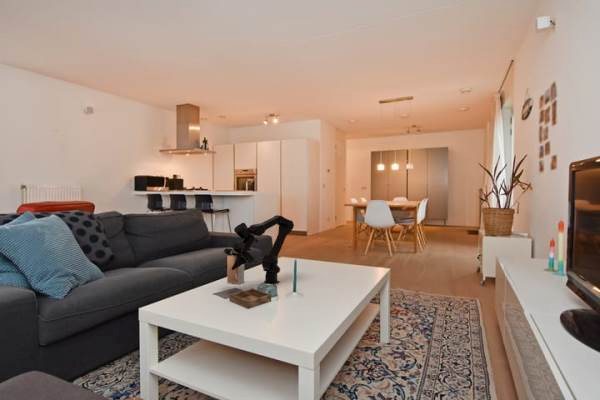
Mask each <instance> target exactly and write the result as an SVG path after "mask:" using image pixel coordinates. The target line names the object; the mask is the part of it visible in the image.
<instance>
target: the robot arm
mask: <svg viewBox="0 0 600 400" xmlns="http://www.w3.org/2000/svg"><path fill="white" fill-rule="evenodd" d="M276 225H277V226H278V234H277V236H276V238H275V240H274V242H273V244H272V248H271V250H270V252H269V253H268V254H265V255H264V257H263V259H262V260H261V267H262V269H263V272H265V280H264V281H263V282H264V283H266V284H268V283H273V284H278V283H280V280H278V274H279V273H280V272H281V267H280V266H279V265H278V263H279V260H278V259H279V258H278V257H279V255H280V252H281V250H282V247H283V245H284V242H285V240H286V239H287V236H288V235H289V234H290V233H292V231H293V229H294V227H295V225H294V222H293V220H291V219H288V218H286V217H284V216H282V215H278V214H277V215H274V216H273V217H270V218H269V219H266V220H264V221H263V222H260V223H254V224H251V225H249V226H247V225H246V223H245V222H241V223H239V224H238V225H237V226H235V227H234V229H233V230H234V231H233V232H234V233H235V234H236V235H237V236H238V238H240V239H241V241H240V240H238V241H234V240H229V243H228V246H227V247H226V248H224V250H223V253H224V254H225V255H226V256H228V255H236V262H235V263H234V265H233V267H232V270H234V269H236V268H238V267H239V266H241V265H243V264H244V265H245V264H247V263H249V264H253V262H254V261H255V258H254V256H253V255H252V254H251V253H250V252H251V251H252V249H251V248H252V246H253V245H254V243H255V244H258V243H259V238H258V237H260V236H262V235H263V234H265V232H266V231H267V230H269V229H270V228H273V227H274V226H276ZM225 269H227V264H225ZM273 284H272V285H273Z"/></svg>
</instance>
